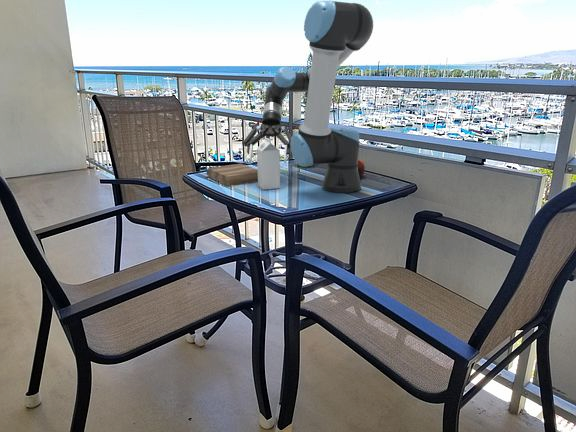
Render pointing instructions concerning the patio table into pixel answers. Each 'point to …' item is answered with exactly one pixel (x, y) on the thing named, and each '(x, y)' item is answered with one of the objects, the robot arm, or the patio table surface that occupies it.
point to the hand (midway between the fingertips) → (267, 160)
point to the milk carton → (268, 165)
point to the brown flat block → (233, 174)
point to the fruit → (361, 167)
